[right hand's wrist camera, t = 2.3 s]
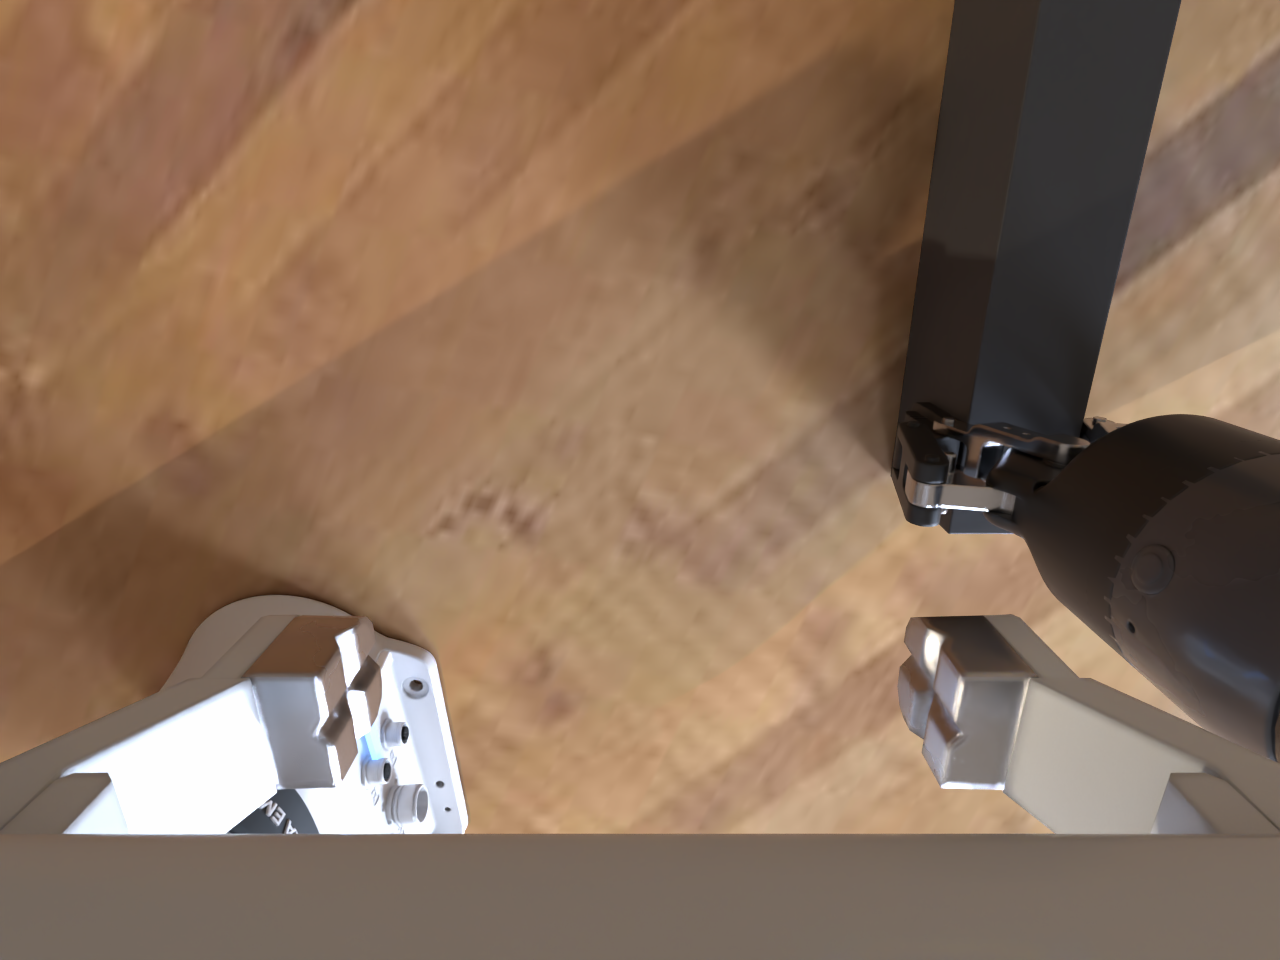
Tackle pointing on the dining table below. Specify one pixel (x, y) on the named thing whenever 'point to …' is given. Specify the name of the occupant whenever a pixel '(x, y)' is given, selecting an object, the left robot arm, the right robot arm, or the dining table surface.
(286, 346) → the dining table surface
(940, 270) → the bar
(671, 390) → the dining table surface
